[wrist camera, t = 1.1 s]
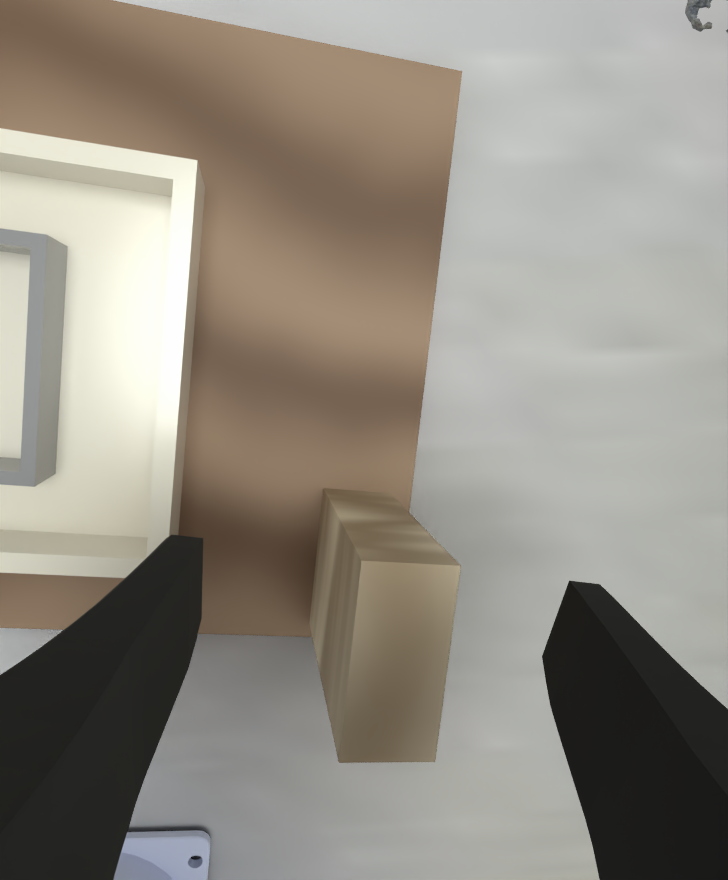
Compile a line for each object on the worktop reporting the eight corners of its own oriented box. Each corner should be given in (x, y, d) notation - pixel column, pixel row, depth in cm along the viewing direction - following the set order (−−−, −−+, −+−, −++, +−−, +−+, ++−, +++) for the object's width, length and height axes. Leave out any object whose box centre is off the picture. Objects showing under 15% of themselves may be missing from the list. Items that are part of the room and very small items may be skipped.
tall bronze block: (389, 492, 23) (461, 565, 15) (374, 625, 24) (435, 762, 16) (323, 488, 22) (361, 560, 15) (309, 623, 23) (338, 762, 15)
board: (389, 630, 24) (393, 639, 24) (-208, 610, 21) (-226, 621, 20) (454, 81, 22) (462, 71, 21) (-205, -51, 18) (-225, -69, 18)
